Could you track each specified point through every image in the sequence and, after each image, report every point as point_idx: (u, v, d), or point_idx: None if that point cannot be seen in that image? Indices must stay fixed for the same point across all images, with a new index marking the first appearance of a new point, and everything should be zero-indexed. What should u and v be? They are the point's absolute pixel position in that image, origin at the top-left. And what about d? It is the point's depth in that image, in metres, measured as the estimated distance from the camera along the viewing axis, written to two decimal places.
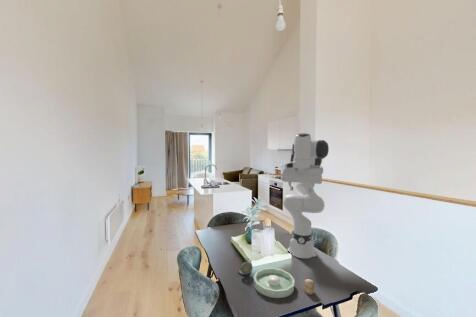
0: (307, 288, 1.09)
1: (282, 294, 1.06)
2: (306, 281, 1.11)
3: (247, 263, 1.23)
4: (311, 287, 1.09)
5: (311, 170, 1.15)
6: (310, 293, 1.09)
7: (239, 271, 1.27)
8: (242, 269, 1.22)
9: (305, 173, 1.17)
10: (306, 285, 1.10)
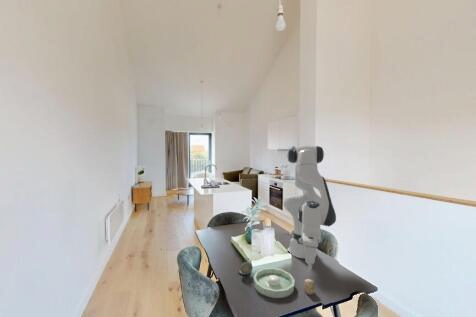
0: (307, 288, 1.09)
1: (282, 294, 1.06)
2: (306, 281, 1.11)
3: (247, 263, 1.23)
4: (311, 287, 1.09)
5: None
6: (310, 293, 1.09)
7: (239, 271, 1.27)
8: (242, 269, 1.22)
9: None
10: (306, 285, 1.10)
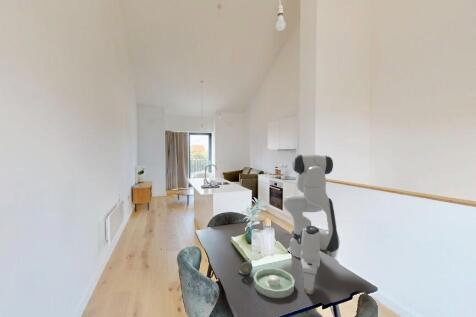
0: None
1: (282, 294, 1.06)
2: None
3: (247, 263, 1.23)
4: None
5: None
6: None
7: (239, 271, 1.27)
8: (242, 269, 1.22)
9: None
10: None
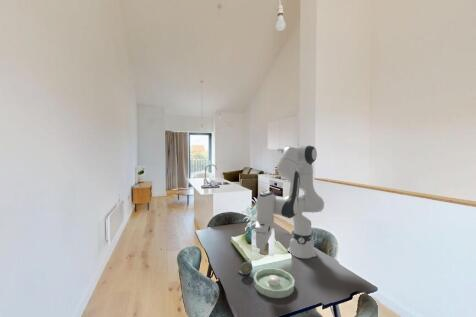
0: None
1: (282, 294, 1.06)
2: None
3: (247, 263, 1.23)
4: (265, 248, 1.14)
5: None
6: (265, 253, 1.14)
7: (239, 271, 1.27)
8: (242, 269, 1.22)
9: None
10: None
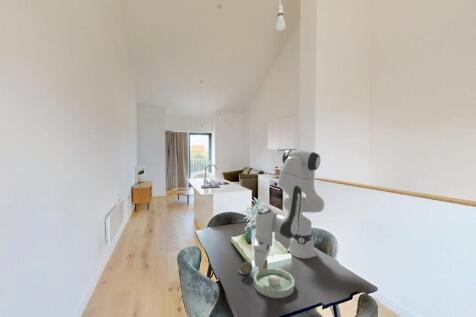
0: None
1: (282, 294, 1.06)
2: None
3: (247, 263, 1.23)
4: (264, 265, 1.15)
5: None
6: (263, 271, 1.15)
7: (239, 271, 1.27)
8: (242, 269, 1.22)
9: None
10: None
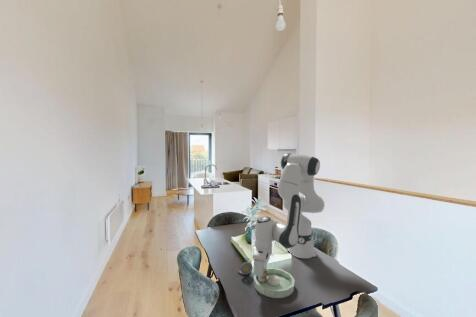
0: None
1: (282, 294, 1.06)
2: None
3: (247, 263, 1.23)
4: (263, 276, 1.15)
5: None
6: (263, 281, 1.15)
7: (239, 271, 1.27)
8: (242, 269, 1.22)
9: None
10: None
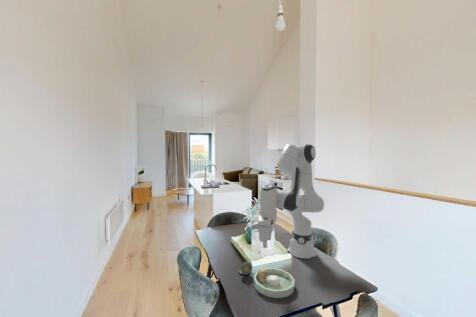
0: (260, 277, 1.16)
1: (282, 294, 1.06)
2: (260, 271, 1.18)
3: (247, 263, 1.23)
4: (263, 276, 1.15)
5: None
6: (263, 281, 1.15)
7: (239, 271, 1.27)
8: (242, 269, 1.22)
9: None
10: (259, 274, 1.16)
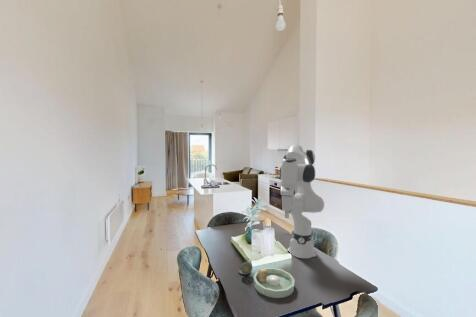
0: (260, 277, 1.16)
1: (282, 294, 1.06)
2: (260, 271, 1.18)
3: (247, 263, 1.23)
4: (263, 276, 1.15)
5: None
6: (263, 281, 1.15)
7: (239, 271, 1.27)
8: (242, 269, 1.22)
9: None
10: (259, 274, 1.16)
